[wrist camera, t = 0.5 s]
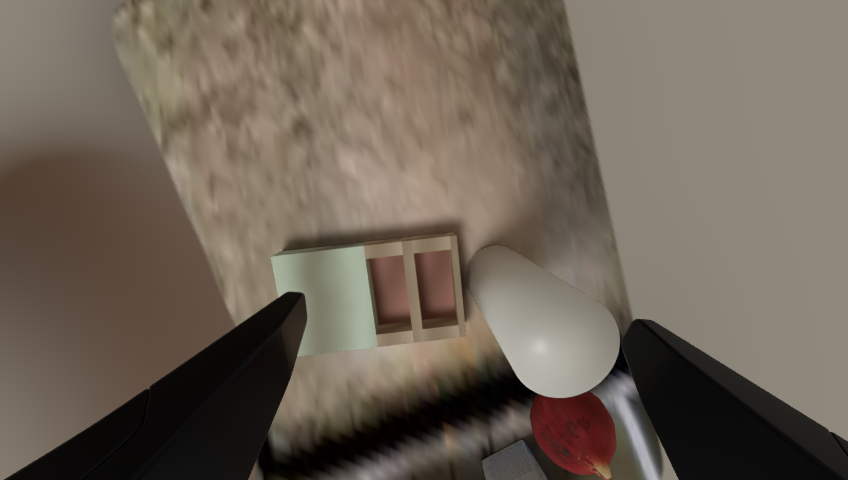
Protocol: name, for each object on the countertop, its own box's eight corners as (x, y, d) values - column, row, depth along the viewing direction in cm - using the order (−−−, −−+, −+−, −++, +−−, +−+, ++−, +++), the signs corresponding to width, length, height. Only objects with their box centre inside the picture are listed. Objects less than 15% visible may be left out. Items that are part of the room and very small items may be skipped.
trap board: (453, 231, 25) (456, 235, 23) (462, 325, 26) (466, 336, 24) (281, 251, 25) (270, 256, 23) (299, 344, 26) (290, 357, 24)
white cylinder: (496, 315, 26) (564, 417, 15) (452, 278, 26) (486, 354, 14) (537, 271, 26) (642, 340, 14) (493, 232, 25) (564, 270, 14)
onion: (510, 418, 28) (549, 507, 20) (526, 358, 27) (572, 428, 19) (572, 427, 28) (634, 519, 21) (590, 369, 28) (661, 442, 20)
